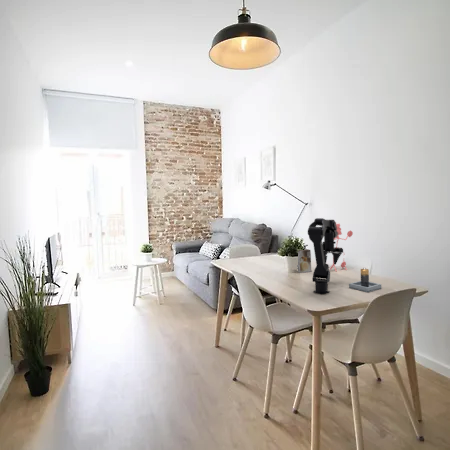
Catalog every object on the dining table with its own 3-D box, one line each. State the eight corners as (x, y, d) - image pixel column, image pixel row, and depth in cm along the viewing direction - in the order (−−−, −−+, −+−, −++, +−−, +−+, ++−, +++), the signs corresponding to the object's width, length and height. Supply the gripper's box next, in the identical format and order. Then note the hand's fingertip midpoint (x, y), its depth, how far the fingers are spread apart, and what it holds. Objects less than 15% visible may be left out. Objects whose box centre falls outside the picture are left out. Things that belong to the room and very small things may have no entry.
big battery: (368, 288, 189) (368, 269, 188) (360, 287, 191) (359, 268, 191) (369, 286, 193) (369, 267, 192) (361, 285, 195) (361, 267, 194)
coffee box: (307, 270, 246) (306, 248, 245) (311, 271, 240) (310, 249, 239) (295, 271, 244) (295, 249, 243) (300, 273, 238) (299, 250, 236)
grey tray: (367, 292, 184) (367, 288, 184) (349, 287, 194) (349, 283, 194) (381, 288, 190) (381, 284, 190) (362, 284, 201) (362, 280, 201)
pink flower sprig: (356, 269, 242) (355, 221, 240) (327, 273, 233) (325, 223, 231) (342, 265, 256) (340, 220, 254) (314, 269, 247) (312, 223, 245)
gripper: (329, 237, 213) (329, 261, 214) (308, 240, 203) (308, 265, 204) (343, 239, 203) (344, 264, 204) (322, 242, 194) (322, 268, 195)
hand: (329, 265), depth 202 cm, fingers open, 9 cm apart
